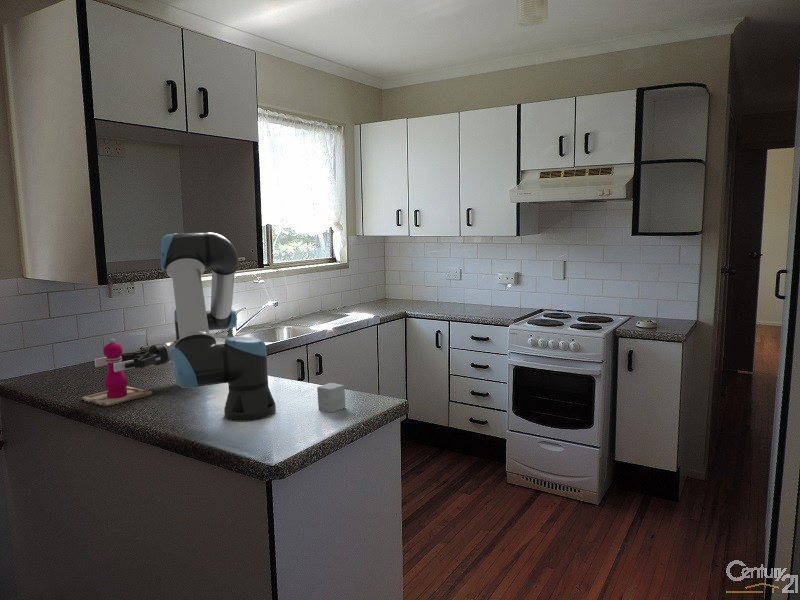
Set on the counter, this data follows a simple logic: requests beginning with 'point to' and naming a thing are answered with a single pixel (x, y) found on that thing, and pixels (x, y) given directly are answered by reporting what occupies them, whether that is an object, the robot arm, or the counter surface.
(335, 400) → the product box
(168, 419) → the counter surface
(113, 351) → the pepper mill
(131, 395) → the oak tray
